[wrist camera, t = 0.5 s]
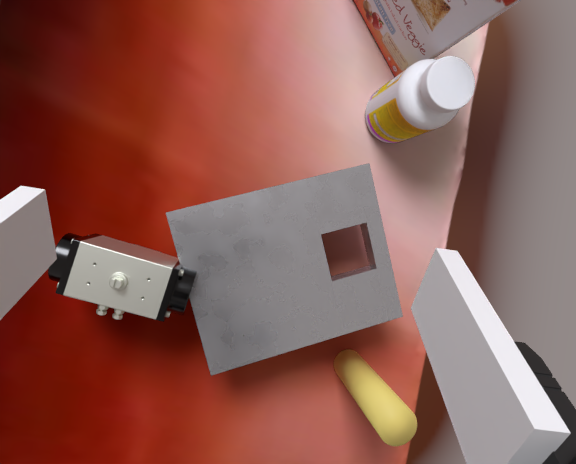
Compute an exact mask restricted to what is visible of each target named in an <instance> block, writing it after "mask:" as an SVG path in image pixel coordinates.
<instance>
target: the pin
mask: <svg viewBox="0 0 576 464" xmlns="http://www.w3.org/2000/svg"><path fill="white" fill-rule="evenodd" d="M334 370H335V372H336V373H337V375H338V376H339V378H340V379H341V381H342V382H343V384H344V385H345V386H346V388H347V389H348V391H349V392H350V394H351V395H352V397H353V398H354V400H355V401H356V402H357V404H358V405H359V407H360V408H361V410H362V411H363V413H364V414H365V415H366V417H367V418H368V420H369V421H370V423H371V424H372V426H373V427H374V429H375V430H376V431H377V433H378V434H379V436H380V437H381V439H382V440H383V441H384V442H385V443H386V444H388V445H391V446H401V445H404V444H406V443H407V442H408V441H410V440H411V439H412V437H413V436H414V434H415V432H416V429H417V419H416V416H415V415H414V413H413V412H412V411H411V410H410V409H409V408H408V406H407V405H406V404H405V403H404V402H403V401H402V400H401V399H400V398H399V397H398V396H397V395H396V394H395V392H394V391H393V390H392V389H391V388H390V387H389V386H388V385H387V384H386V383H385V382H384V381H383V380H382V378H381V377H380V376H379V375H378V374H377V373H376V372H375V371H374V370H373V369H372V368H371V367H370V366H369V365H368V363H367V362H366V361H365V360H364V359H363V358H362V357H361V356H360V355H359V354H358V353H357V352H356V351H354V350H351V349H347V350H343V351H341V352H340V353H339V354H338V355H337V356H336V357H335V360H334Z"/></svg>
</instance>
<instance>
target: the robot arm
mask: <svg viewBox="0 0 576 464" xmlns="http://www.w3.org/2000/svg"><path fill="white" fill-rule="evenodd" d="M56 259H57V256H56V250H55V244H54V238H53V232H52V226H51V221H50V215H49V209H48V203H47V197H46V192H45V189H38V188H31V187H25V186H20V187H19V188H17V189H16V190H14V191H13V192H11V193H10V194H8V195H7V196H5V197H4V198H2V199H1V200H0V320H1V319H2V317H3V316H4V315H5V314H6V313H7V312H8V311H9V310H10V309H11V308H12V307H13V306H14V305H15V303H16V302H17V301H18V300H19V299H20V298H21V297H22V296H23V295H24V294H25V293H26V292H27V291H28V289H29V288H30V287H31V286H32V285H33V284H34V283H35V282H36V281H37V280H38V279H39V278H40V277H41V275H42V274H43V273H44V272H45V271H46V270H47V269H48V268H49V267H50V266H51V265H52V264H53V263H54V261H55V260H56ZM411 310H412V313H413V315H414V318H415V321H416V324H417V327H418V329H419V332H420V335H421V338H422V341H423V343H424V346H425V349H426V352H427V355H428V357H429V360H430V363H431V366H432V368H433V371H434V374H435V377H436V380H437V382H438V385H439V388H440V391H441V394H442V396H443V399H444V402H445V405H446V408H447V410H448V413H449V416H450V419H451V421H452V424H453V427H454V430H455V433H456V435H457V438H458V441H459V444H460V447H461V449H462V452H463V455H464V457H465V461H466V463H467V464H576V409H575V408H574V406H573V405H572V404H571V402H570V400H569V399H568V397H567V396H566V395H565V393H564V392H562V391H561V387H560V386H559V384H558V382H557V381H556V379H555V378H552V373H551V372H550V370H549V369H548V367H547V366H546V364H545V363H544V361H543V360H542V359H541V357H539V356H538V355H537V354H536V353H535V352H534V351H533V350H532V349H531V348H530V347H529V346H528V345H526V344H525V343H522V342H514V341H513V340H512V338H511V336H510V335H509V333H508V332H507V330H506V329H505V327H504V325H503V324H502V322H501V320H500V319H499V317H498V315H497V314H496V312H495V311H494V309H493V307H492V306H491V304H490V303H489V301H488V299H487V298H486V296H485V295H484V293H483V291H482V290H481V288H480V287H479V285H478V283H477V282H476V280H475V279H474V277H473V275H472V274H471V272H470V271H469V269H468V267H467V266H466V264H465V263H464V261H463V260H462V258H461V256H460V255H459V253H458V251H453V250H447V249H440V248H436V249H435V251H434V254H433V256H432V259H431V261H430V263H429V266H428V268H427V271H426V273H425V275H424V278H423V280H422V283H421V285H420V287H419V290H418V292H417V295H416V297H415V299H414V302H413V304H412V307H411Z"/></svg>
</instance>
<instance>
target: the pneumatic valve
mask: <svg viewBox="0 0 576 464" xmlns="http://www.w3.org/2000/svg"><path fill="white" fill-rule="evenodd" d="M55 250H56V256H57V259H56V260H55V261H54V263H53V264H52V265H51V266H50V267H49V270H48V275H49V278H50V279H51V280H53V281H57V282H58V284H57V290H56V293H57V294H61V295H65V296H68V297H72V298H76V299H80V300H83V301H87V302H91V303H95V304H98V308H99V309H97V311H96V313H97V314H98V315H106V313H107V311H106V310H107V309H108V307H110V308H114V312H115V313H113V315H112V317H113V318H114V319H117V320H121V319H122V318H123V315H122V314H123V313H124V311H125V312H129V313H132V314H136V315H140V316H144V317H148V318H151V319H155V320H159V321H163V322H164V320H165V318H166V317H168V318H169V316H170V313H171V312H172V313H175V314H179V315H183V314H184V311H185V308H186V305H187V302H188V299H189V295H190V292H191V289H192V286H193V283H194V280H195V277H196V274H197V271H195V270H191V269H188V268H185V267H183V266H182V265H181V264H180V262H179V258H177V257H173V256H170V255H167V254H163V253H162V252H159V251H155V250H152V249H149V248H145V247H142V246H138V245H135V244H130V243H126V242H123V241H120V240H116V239H113V238H109V237H106V236H103V235H99V234H92V235H87V236H83V237H82V236H79V235H75V234H72V233H68V234H66V235H65V236H63V237H62V239H61V240H60V241H59V243H58V244H57V246H56V248H55Z"/></svg>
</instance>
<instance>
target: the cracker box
mask: <svg viewBox="0 0 576 464" xmlns="http://www.w3.org/2000/svg"><path fill="white" fill-rule="evenodd" d="M519 1H520V0H354V2H355V4H356V5H357V7H358V9H359V11H360V13H361V15H362V17H363V18H364V20H365V22H366V24H367V26H368V28H369V30H370V31H371V33H372V35H373V37H374V39H375V41H376V42H377V44H378V46H379V48H380V50H381V52H382V54H383V55H384V57H385V59H386V61H387V63H388V65H389V67H390V68H391V70H392V72H393V74H394V76H395V77H396V76H398V75H399V74H400V73H402V72H403V71H404V70H406V69H407V68H408V67H410V66H411V65H413V64H414V63H416V62H418V61H421V60H425V59H434V58H435V57H437V56H438V55H440V54H441V53H443V52H444V51H446V50H447V49H449V48H450V47H452V46H454V45H455V44H457V43H458V42H460V41H461V40H462V39H464V38H465V37H467V36H469V35H470V34H472V33H473V32H475V31H476V30H477V29H479V28H480V27H482V26H483V25H485V24H486V23H488V22H489V21H491V20H492V19H494V18H495V17H497V16H498V15H500V14H501V13H503V12H504V11H506V10H507V9H508V8H510V7H512V6H513V5H514V4H516V3H517V2H519Z"/></svg>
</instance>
